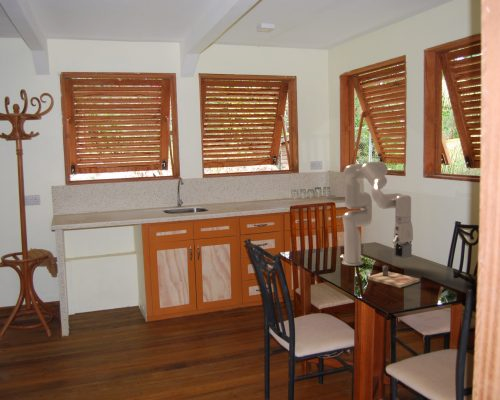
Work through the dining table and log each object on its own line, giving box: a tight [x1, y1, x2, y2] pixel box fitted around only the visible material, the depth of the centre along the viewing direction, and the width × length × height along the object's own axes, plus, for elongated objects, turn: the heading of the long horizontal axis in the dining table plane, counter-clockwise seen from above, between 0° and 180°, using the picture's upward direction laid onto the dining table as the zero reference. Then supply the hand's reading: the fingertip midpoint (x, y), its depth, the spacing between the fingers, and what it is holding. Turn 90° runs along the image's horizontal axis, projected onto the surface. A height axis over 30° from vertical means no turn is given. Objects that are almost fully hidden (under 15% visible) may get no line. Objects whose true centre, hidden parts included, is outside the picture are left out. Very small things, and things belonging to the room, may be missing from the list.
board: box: [367, 265, 420, 289], centre depth 252 cm, size 20×16×6 cm
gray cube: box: [393, 243, 413, 259], centre depth 245 cm, size 6×6×6 cm
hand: (402, 254), depth 246 cm, fingers closed on gray cube, 6 cm apart
